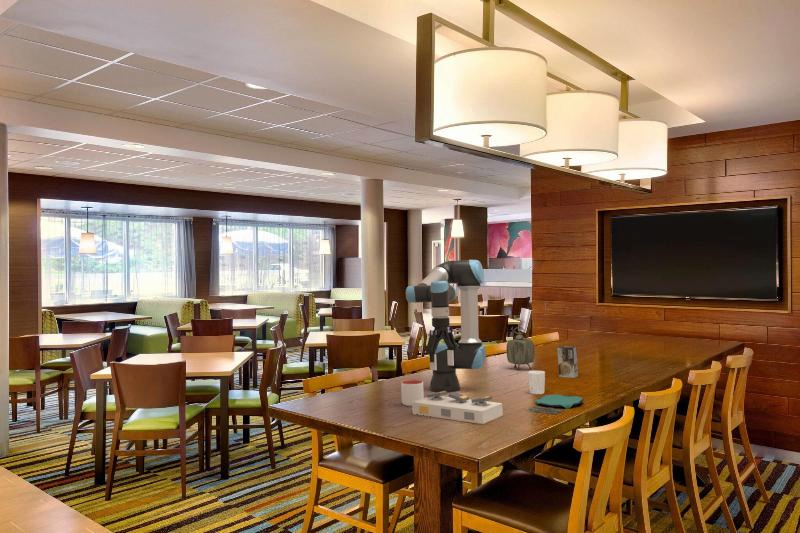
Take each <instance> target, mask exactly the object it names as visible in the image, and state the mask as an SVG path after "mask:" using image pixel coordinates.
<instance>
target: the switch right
mask: <svg viewBox="0 0 800 533" xmlns="http://www.w3.org/2000/svg"><path fill="white" fill-rule="evenodd" d="M490 400H493V396H492V395H488V396H487V395H486V396H481V397H475V398H473V399H471V401H472V403H477V402H485V401H488V402H490Z"/></svg>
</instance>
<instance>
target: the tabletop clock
mask: <svg viewBox="0 0 800 533" xmlns="http://www.w3.org/2000/svg"><path fill="white" fill-rule="evenodd" d="M517 329H522V330H523V332H521V331H518V332H516V330H517ZM513 330H514V333H515V334H516V336H515V338H513V339H509V340H508V341H507V342H506V360H507V361H508V363H510V364H512V365H514V366H513V368H514V369H517V370H518V371H520V370H521V368H520V366H521V365H527V366H528V367H529V371H533V367H532V366H530V364H532V363H534V361H535V356H536V354H535V345H534V341H533V340H532V339H529V338H525V337H524V335H523V334H524V333H525V329H524V327H521V326H517V327H515V328H514V329H513ZM517 365H518V367H517Z"/></svg>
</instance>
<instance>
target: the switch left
mask: <svg viewBox="0 0 800 533" xmlns="http://www.w3.org/2000/svg"><path fill="white" fill-rule="evenodd" d="M447 394H448V392H447V391H442V392H431V393H429V394H427V397H428V398H430V397H437V396H445V395H447ZM427 397H426V398H427Z"/></svg>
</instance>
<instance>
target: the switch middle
mask: <svg viewBox="0 0 800 533" xmlns="http://www.w3.org/2000/svg"><path fill="white" fill-rule="evenodd" d="M448 397H450V398H453V399H456V400H459V401H461V402H464V401H467V400H469V399H470V396H467V395H465V394H462V393H459V392H456V391H453V392H451V393H448Z"/></svg>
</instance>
